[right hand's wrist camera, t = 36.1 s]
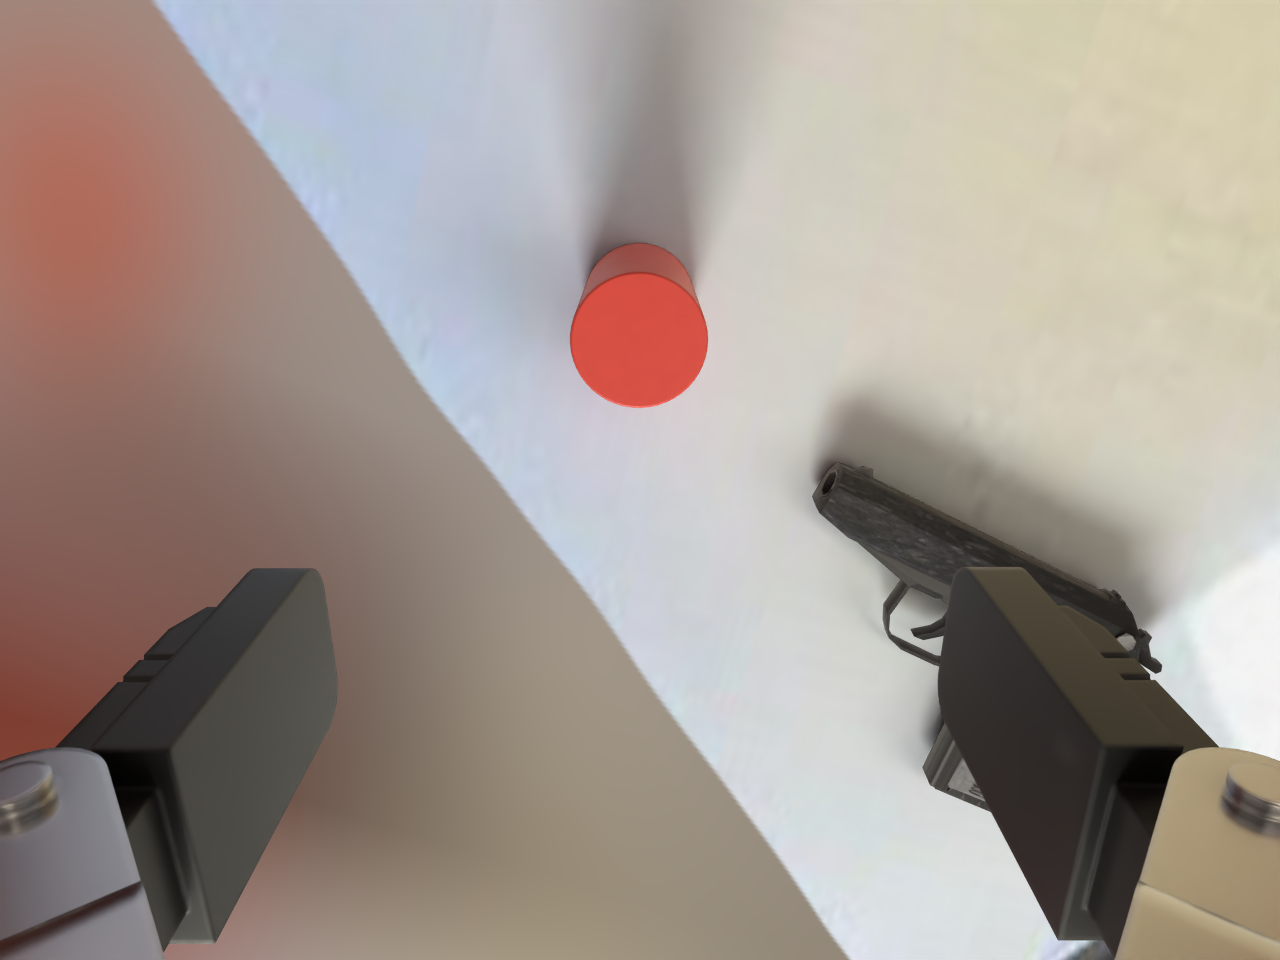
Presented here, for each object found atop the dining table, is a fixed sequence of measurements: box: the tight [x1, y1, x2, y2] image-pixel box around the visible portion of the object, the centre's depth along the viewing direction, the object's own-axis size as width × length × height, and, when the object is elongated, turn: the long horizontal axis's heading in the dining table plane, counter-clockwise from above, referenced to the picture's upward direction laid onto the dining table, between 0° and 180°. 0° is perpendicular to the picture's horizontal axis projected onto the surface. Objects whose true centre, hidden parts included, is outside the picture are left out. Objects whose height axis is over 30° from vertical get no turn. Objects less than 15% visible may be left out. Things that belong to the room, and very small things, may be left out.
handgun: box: [813, 462, 1162, 812], centre depth 39 cm, size 2×18×12 cm
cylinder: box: [570, 243, 708, 408], centre depth 31 cm, size 4×4×8 cm
